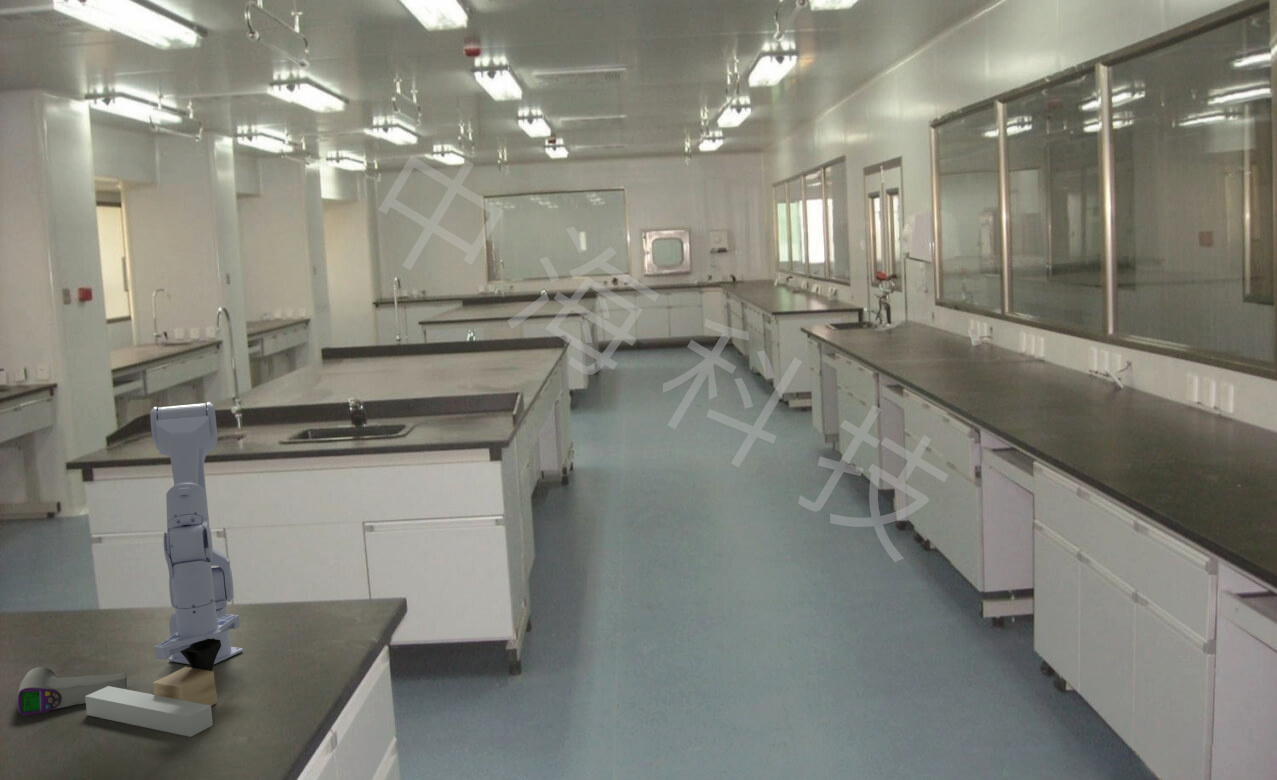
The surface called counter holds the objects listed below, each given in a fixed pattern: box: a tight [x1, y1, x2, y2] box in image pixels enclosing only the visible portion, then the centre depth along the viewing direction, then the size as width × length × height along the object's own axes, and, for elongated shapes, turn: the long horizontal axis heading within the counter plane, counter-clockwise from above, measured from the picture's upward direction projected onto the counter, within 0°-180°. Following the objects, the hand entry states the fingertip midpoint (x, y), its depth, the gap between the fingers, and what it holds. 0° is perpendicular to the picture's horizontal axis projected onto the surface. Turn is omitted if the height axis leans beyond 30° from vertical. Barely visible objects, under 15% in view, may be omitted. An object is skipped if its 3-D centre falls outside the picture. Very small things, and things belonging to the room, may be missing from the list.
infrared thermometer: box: [16, 666, 128, 716], centre depth 167 cm, size 5×12×15 cm
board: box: [85, 686, 214, 738], centre depth 155 cm, size 22×4×3 cm, turn 64°
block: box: [152, 666, 218, 707], centre depth 158 cm, size 6×6×5 cm
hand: (204, 687), depth 161 cm, fingers closed, pressing on block
